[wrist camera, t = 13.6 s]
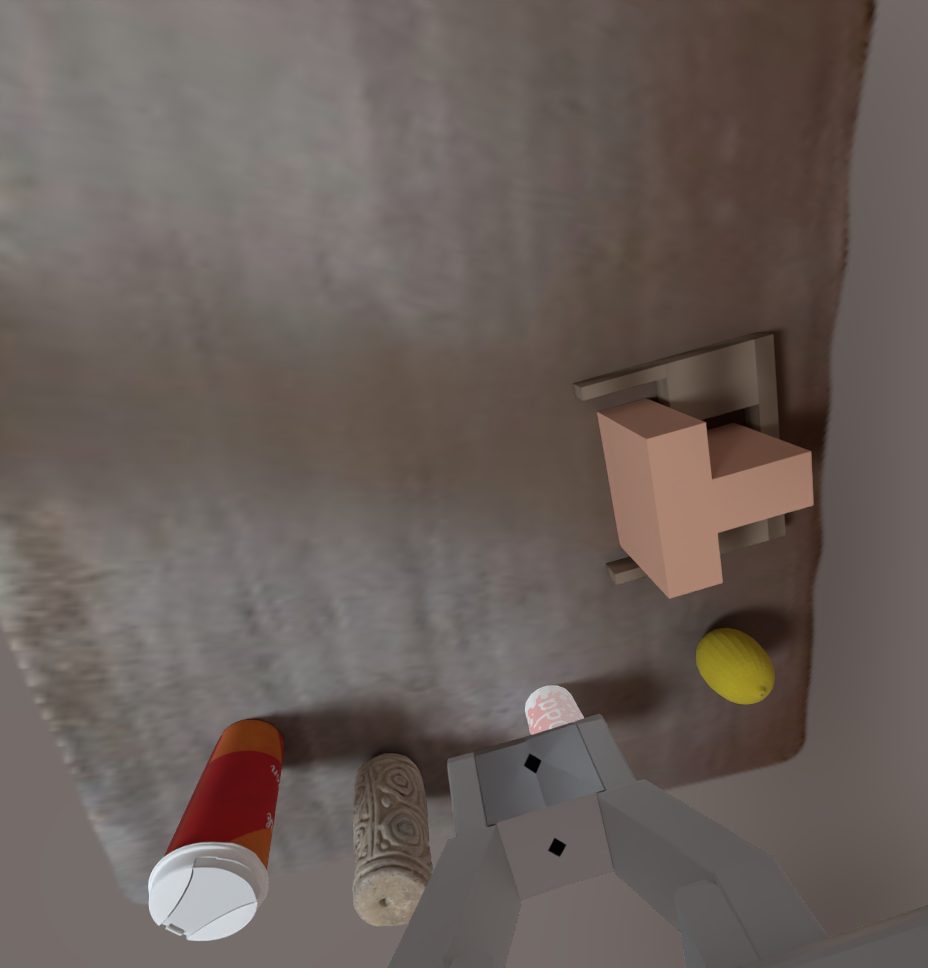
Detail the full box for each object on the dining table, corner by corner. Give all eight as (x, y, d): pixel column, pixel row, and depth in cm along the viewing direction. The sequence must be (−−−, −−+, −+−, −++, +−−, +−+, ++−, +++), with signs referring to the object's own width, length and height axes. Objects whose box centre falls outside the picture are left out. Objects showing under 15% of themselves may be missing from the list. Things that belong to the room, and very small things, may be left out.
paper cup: (257, 792, 52) (214, 962, 39) (186, 749, 50) (114, 915, 36) (315, 738, 51) (291, 894, 38) (246, 692, 48) (194, 841, 35)
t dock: (607, 573, 49) (616, 584, 47) (572, 383, 44) (580, 387, 42) (770, 526, 50) (785, 535, 48) (756, 332, 44) (773, 334, 42)
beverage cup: (579, 672, 52) (643, 800, 39) (582, 725, 54) (645, 864, 41) (513, 685, 52) (557, 818, 39) (519, 738, 54) (563, 882, 41)
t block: (620, 545, 49) (669, 598, 40) (597, 411, 45) (646, 439, 36) (741, 510, 49) (815, 555, 41) (729, 374, 45) (808, 393, 37)
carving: (380, 814, 55) (378, 949, 43) (339, 761, 52) (325, 891, 41) (438, 784, 54) (452, 913, 43) (400, 730, 52) (404, 852, 40)
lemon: (670, 655, 53) (717, 715, 45) (697, 605, 52) (750, 658, 44) (719, 669, 54) (772, 729, 47) (747, 620, 53) (807, 674, 45)
